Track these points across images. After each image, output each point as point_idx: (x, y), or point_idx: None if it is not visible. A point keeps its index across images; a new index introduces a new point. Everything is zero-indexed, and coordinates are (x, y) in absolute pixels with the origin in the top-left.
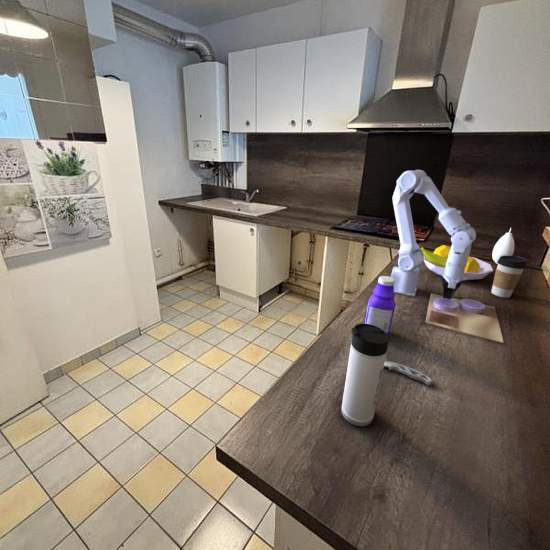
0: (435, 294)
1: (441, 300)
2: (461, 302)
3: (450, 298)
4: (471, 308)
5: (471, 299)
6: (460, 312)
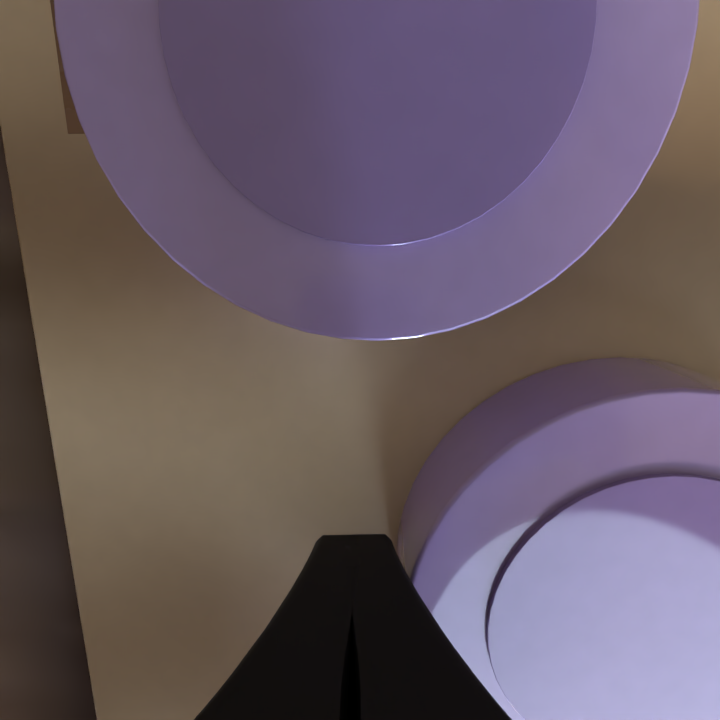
0: (106, 708)
1: (607, 707)
2: (463, 316)
3: (399, 562)
4: (676, 67)
5: (72, 51)
6: (714, 289)
